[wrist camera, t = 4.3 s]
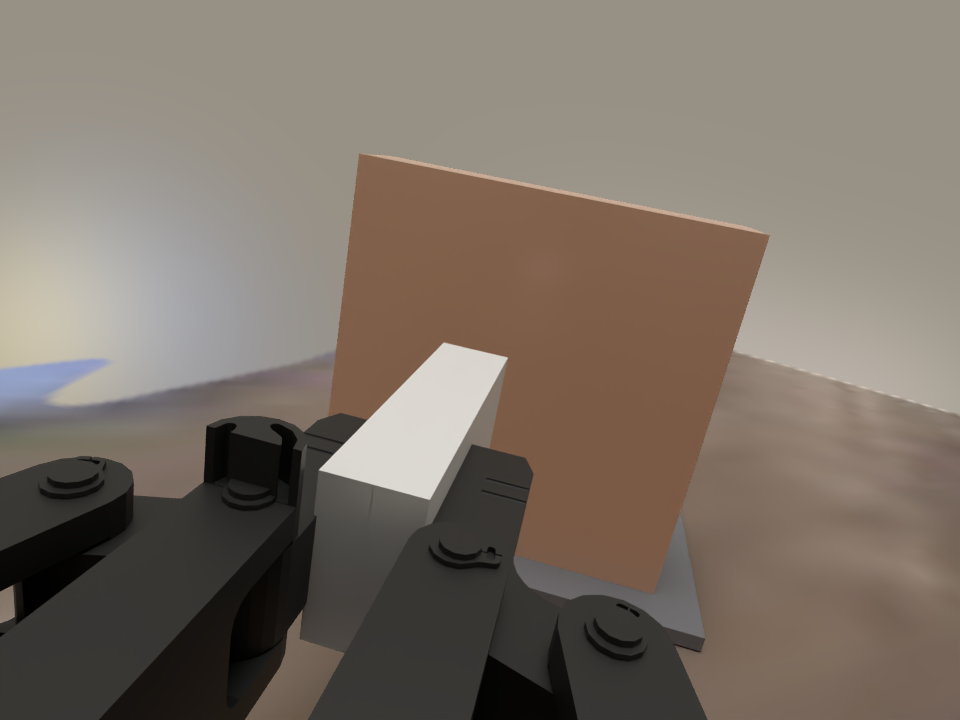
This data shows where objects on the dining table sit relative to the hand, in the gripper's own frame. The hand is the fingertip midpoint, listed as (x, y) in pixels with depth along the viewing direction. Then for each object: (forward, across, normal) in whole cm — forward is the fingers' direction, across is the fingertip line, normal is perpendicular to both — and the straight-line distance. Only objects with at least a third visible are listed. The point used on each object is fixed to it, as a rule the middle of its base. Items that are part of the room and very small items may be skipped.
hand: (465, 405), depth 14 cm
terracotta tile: (+7, +1, -7) cm, 10 cm away
